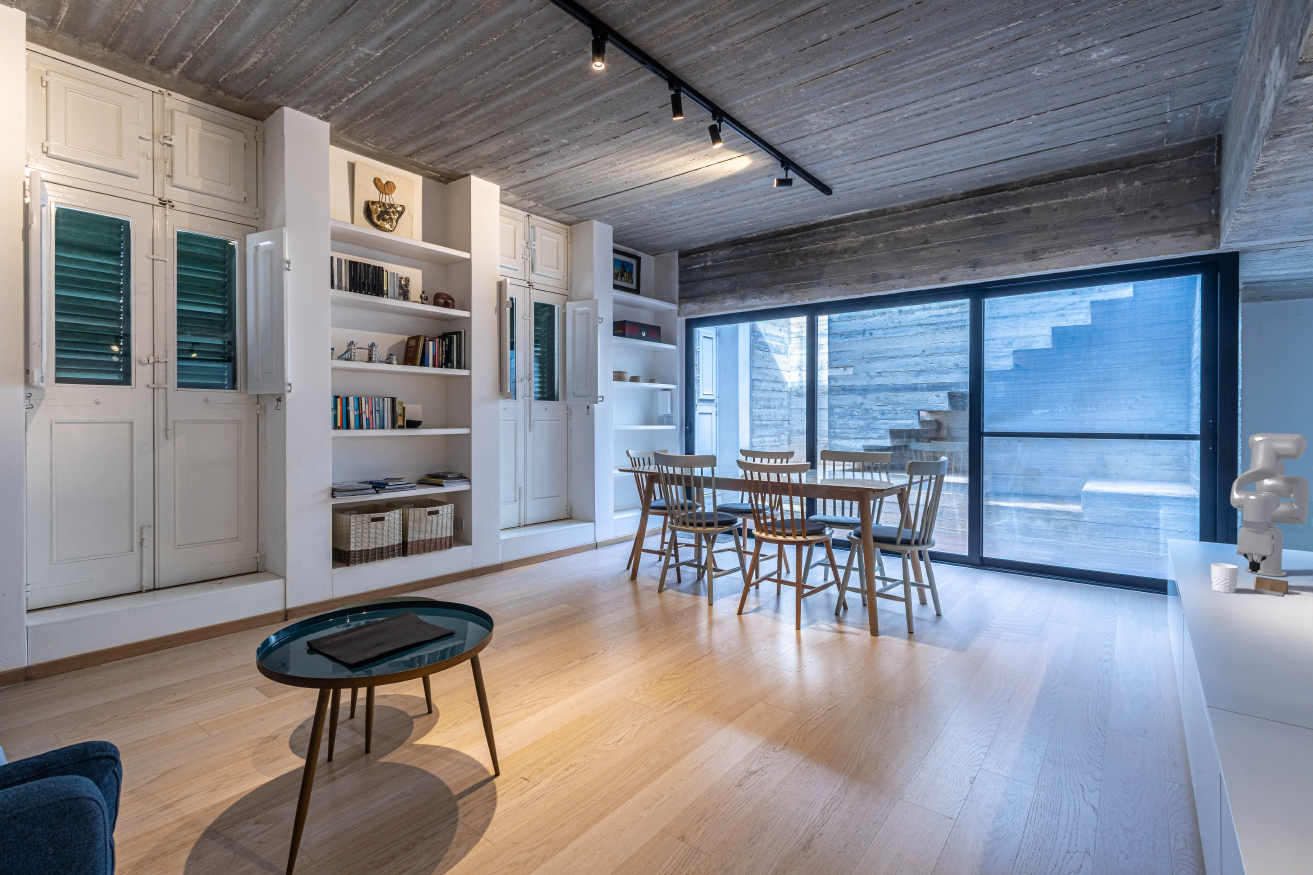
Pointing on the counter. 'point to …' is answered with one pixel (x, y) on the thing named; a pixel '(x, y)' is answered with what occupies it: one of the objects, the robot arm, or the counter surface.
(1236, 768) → the counter surface
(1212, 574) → the white cup
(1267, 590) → the mat
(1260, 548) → the robot arm
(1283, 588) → the block
